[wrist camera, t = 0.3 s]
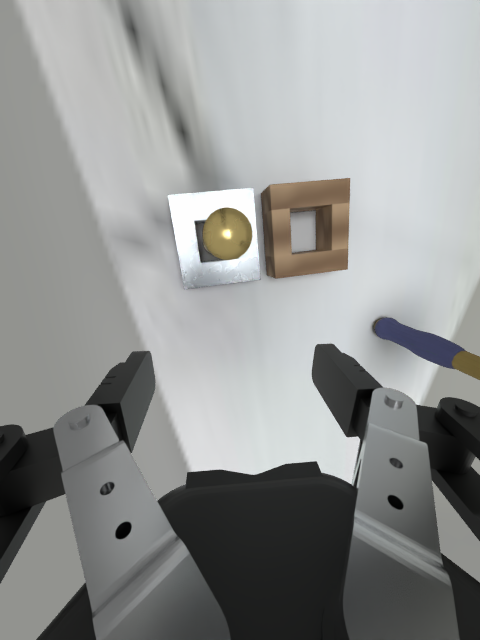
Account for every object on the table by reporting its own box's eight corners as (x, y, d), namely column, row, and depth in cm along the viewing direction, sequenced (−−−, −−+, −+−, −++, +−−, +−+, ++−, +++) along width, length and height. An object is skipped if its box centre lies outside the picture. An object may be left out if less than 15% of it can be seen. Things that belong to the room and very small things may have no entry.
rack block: (261, 193, 35) (270, 184, 31) (330, 187, 37) (350, 178, 32) (266, 274, 39) (275, 278, 34) (330, 266, 40) (347, 269, 35)
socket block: (171, 201, 34) (167, 195, 30) (247, 194, 35) (253, 187, 31) (186, 285, 37) (184, 289, 34) (254, 276, 39) (260, 279, 35)
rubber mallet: (386, 357, 47) (665, 522, 19) (352, 353, 46) (599, 526, 17) (408, 295, 44) (786, 381, 16) (373, 289, 43) (717, 372, 14)
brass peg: (200, 228, 35) (198, 209, 18) (227, 225, 36) (250, 204, 19) (204, 256, 37) (206, 263, 20) (230, 253, 37) (255, 257, 20)
